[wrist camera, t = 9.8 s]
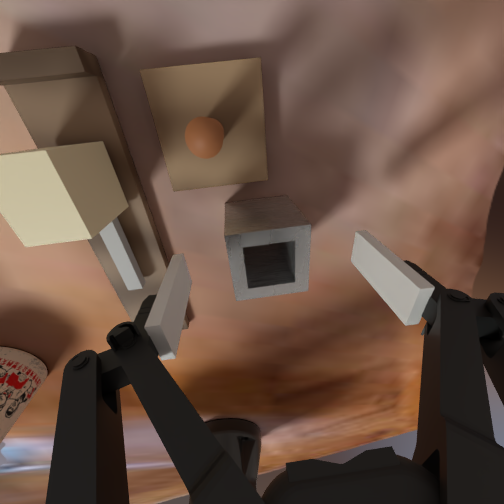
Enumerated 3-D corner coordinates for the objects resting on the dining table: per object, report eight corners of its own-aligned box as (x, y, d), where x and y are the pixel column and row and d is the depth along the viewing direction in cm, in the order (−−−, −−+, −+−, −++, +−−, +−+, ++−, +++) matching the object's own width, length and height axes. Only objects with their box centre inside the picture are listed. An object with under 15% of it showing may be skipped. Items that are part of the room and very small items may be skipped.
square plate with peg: (265, 176, 20) (287, 207, 13) (176, 187, 20) (148, 225, 13) (258, 62, 16) (284, 13, 9) (146, 73, 16) (77, 33, 8)
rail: (189, 322, 28) (186, 338, 26) (142, 329, 28) (135, 345, 26) (95, 56, 15) (74, 45, 13) (4, 65, 15) (-32, 56, 13)
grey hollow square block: (287, 248, 24) (308, 290, 18) (233, 256, 24) (236, 301, 18) (287, 195, 21) (311, 224, 15) (225, 203, 21) (224, 235, 15)
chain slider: (158, 280, 23) (138, 326, 18) (119, 285, 23) (88, 333, 18) (102, 141, 16) (45, 150, 11) (46, 147, 16) (-38, 159, 11)
